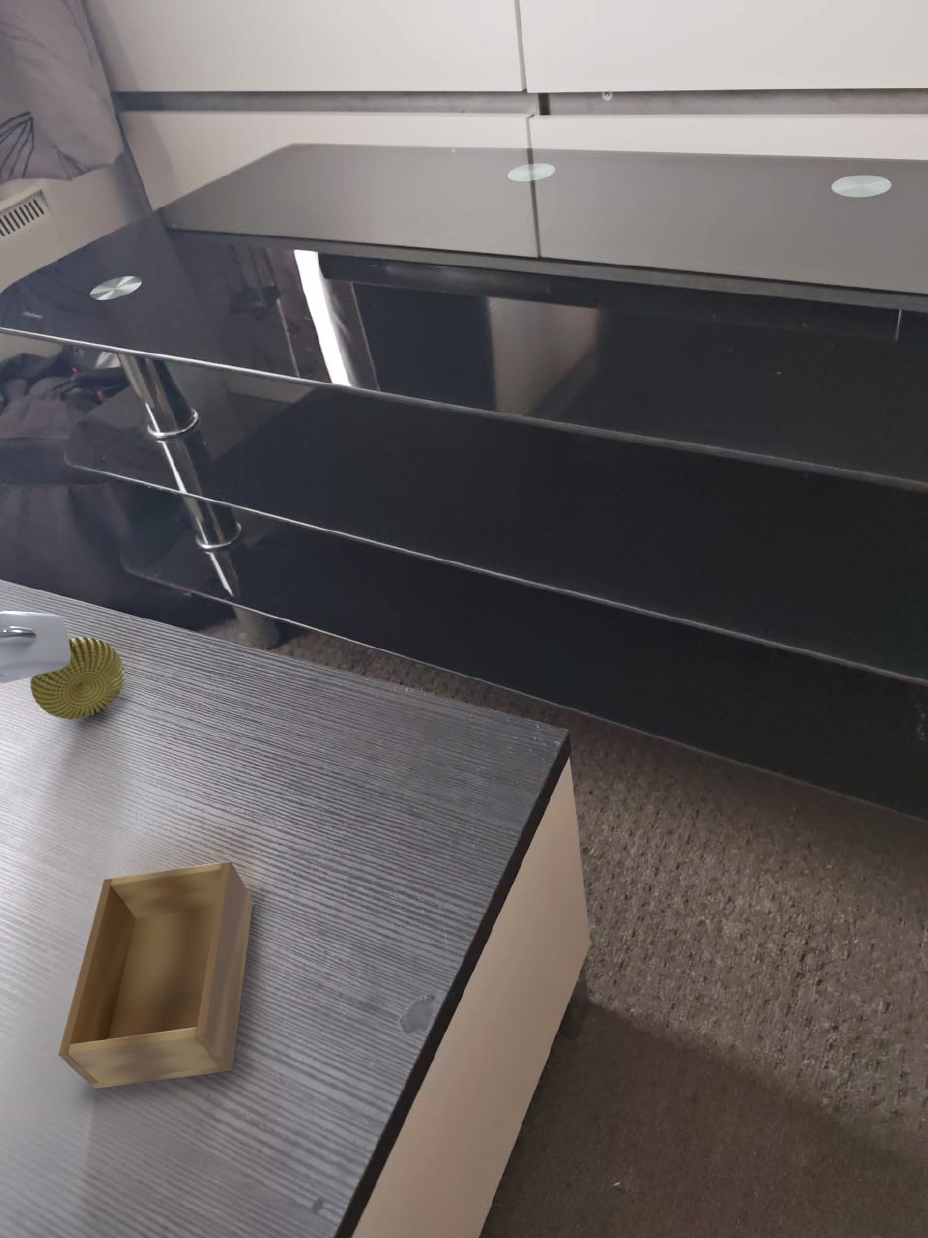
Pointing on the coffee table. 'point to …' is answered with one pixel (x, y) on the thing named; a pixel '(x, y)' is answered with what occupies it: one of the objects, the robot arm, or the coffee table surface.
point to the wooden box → (161, 977)
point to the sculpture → (81, 681)
